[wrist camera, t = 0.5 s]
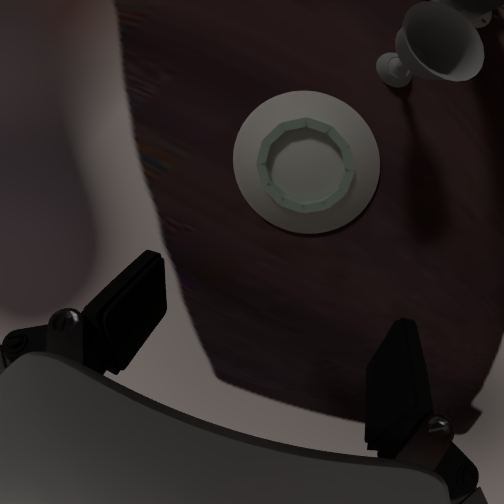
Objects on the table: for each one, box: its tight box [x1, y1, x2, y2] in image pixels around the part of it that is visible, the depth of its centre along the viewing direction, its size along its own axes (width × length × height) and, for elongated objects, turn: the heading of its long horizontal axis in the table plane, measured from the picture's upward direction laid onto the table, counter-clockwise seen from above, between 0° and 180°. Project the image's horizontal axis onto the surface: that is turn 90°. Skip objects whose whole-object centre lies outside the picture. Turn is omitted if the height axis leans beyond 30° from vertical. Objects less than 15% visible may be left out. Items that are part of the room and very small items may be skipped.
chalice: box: [376, 1, 484, 88], centre depth 19 cm, size 7×7×18 cm
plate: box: [233, 91, 380, 234], centre depth 35 cm, size 20×20×2 cm
